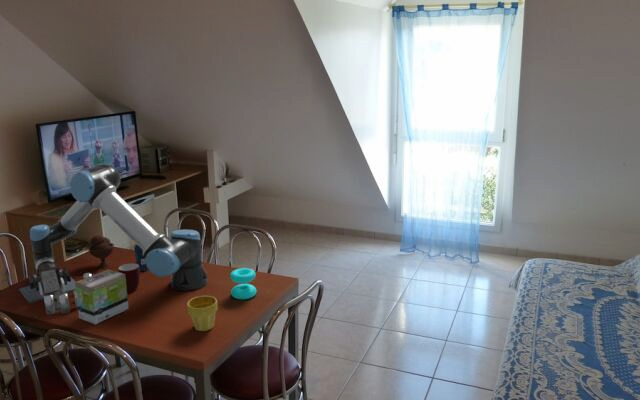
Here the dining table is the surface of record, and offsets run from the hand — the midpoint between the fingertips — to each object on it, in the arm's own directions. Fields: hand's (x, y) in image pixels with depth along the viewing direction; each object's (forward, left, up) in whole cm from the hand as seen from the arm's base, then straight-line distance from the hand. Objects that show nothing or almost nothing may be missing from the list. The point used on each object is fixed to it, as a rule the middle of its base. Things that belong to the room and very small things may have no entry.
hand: (52, 289), depth 217 cm
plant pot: (-50, -36, -9) cm, 62 cm away
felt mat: (+21, -4, -9) cm, 23 cm away
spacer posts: (+3, -7, -9) cm, 11 cm away
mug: (-2, -28, -9) cm, 29 cm away
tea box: (-16, -13, -9) cm, 22 cm away
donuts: (-37, -61, -9) cm, 72 cm away
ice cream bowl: (+32, -30, -9) cm, 44 cm away
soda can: (+17, -43, -9) cm, 47 cm away
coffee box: (+5, -1, -9) cm, 10 cm away
